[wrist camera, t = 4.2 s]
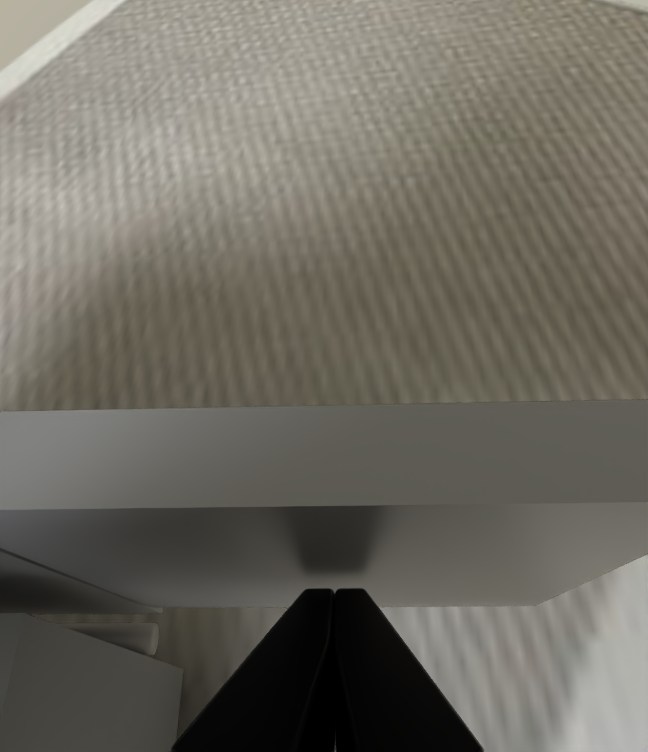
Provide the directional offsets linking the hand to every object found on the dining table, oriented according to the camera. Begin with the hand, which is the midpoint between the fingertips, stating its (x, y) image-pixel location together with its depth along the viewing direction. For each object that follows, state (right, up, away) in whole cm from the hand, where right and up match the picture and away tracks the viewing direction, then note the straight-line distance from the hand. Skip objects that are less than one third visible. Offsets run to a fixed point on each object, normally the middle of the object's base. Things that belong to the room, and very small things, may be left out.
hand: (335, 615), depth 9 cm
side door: (-4, -1, +4) cm, 6 cm away
